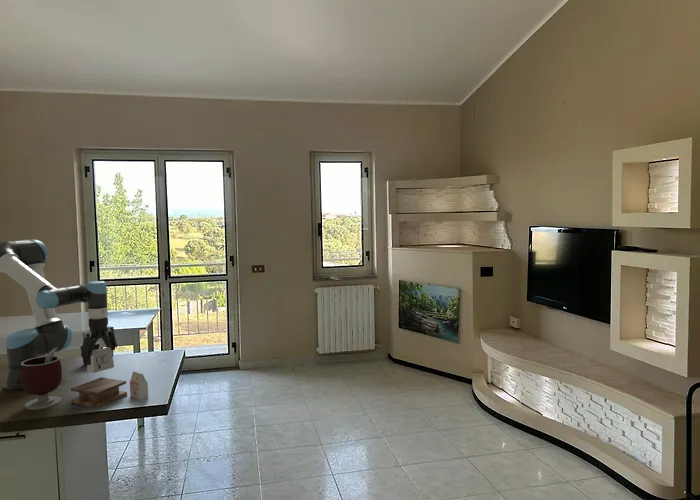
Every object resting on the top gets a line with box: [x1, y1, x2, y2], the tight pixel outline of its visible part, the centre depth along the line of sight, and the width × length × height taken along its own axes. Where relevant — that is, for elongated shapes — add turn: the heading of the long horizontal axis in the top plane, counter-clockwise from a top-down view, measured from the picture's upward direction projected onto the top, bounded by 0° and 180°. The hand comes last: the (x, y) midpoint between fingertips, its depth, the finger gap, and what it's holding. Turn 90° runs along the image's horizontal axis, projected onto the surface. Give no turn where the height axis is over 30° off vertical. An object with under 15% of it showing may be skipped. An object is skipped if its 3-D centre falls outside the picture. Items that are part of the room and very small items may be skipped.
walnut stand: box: [70, 376, 128, 409], centre depth 202 cm, size 14×14×6 cm
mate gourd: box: [20, 348, 63, 411], centre depth 199 cm, size 16×14×20 cm
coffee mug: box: [79, 341, 100, 367], centre depth 250 cm, size 12×9×10 cm
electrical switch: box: [91, 346, 115, 374], centre depth 222 cm, size 9×5×9 cm, turn 142°
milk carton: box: [129, 370, 149, 401], centre depth 204 cm, size 4×7×10 cm, turn 53°
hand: (100, 368), depth 222 cm, fingers closed on electrical switch, 9 cm apart
